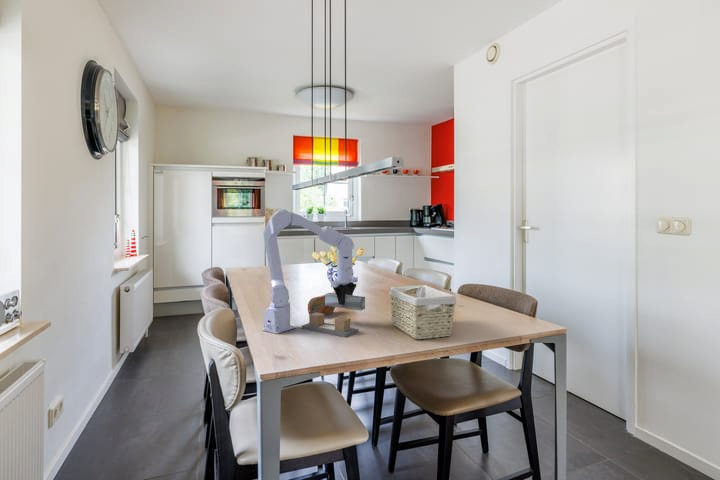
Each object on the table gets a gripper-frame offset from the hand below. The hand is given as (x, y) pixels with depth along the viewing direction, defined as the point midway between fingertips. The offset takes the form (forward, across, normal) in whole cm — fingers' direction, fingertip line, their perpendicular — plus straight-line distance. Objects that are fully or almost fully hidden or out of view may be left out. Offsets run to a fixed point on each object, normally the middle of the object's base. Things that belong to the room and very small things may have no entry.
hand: (344, 303), depth 151 cm
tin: (+9, +7, +17) cm, 20 cm away
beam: (+2, 0, 0) cm, 2 cm away
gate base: (+8, -8, +1) cm, 12 cm away
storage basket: (+9, +10, -27) cm, 30 cm away
